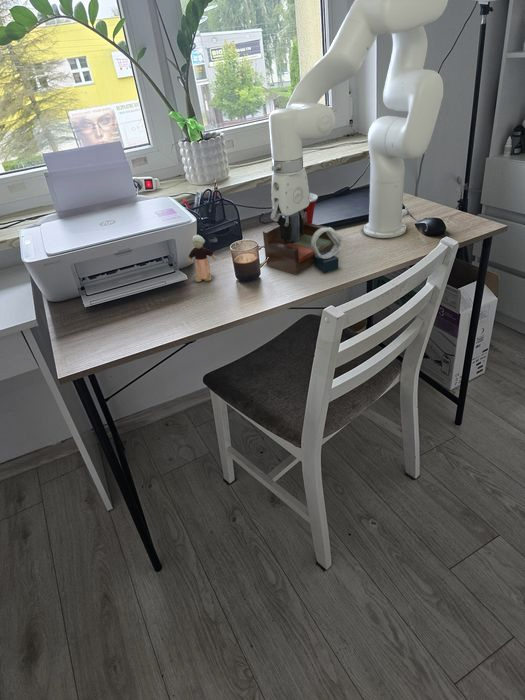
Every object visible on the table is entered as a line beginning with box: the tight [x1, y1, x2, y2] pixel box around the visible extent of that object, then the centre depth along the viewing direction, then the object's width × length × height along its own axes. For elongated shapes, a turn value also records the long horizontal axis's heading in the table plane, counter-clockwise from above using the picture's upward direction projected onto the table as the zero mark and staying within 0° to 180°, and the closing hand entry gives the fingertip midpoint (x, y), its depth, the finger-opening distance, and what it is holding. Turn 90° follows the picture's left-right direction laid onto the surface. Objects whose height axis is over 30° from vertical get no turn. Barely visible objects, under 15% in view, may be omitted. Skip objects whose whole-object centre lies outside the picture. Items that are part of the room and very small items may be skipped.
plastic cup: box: [305, 192, 319, 224], centre depth 143 cm, size 11×11×12 cm
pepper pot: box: [282, 212, 301, 243], centre depth 122 cm, size 4×4×8 cm
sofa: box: [262, 212, 335, 276], centre depth 128 cm, size 17×11×10 cm, turn 136°
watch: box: [311, 226, 343, 274], centre depth 122 cm, size 6×8×11 cm
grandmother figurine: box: [187, 234, 217, 283], centre depth 123 cm, size 8×4×13 cm, turn 99°
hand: (292, 235), depth 124 cm, fingers closed on pepper pot, 4 cm apart
